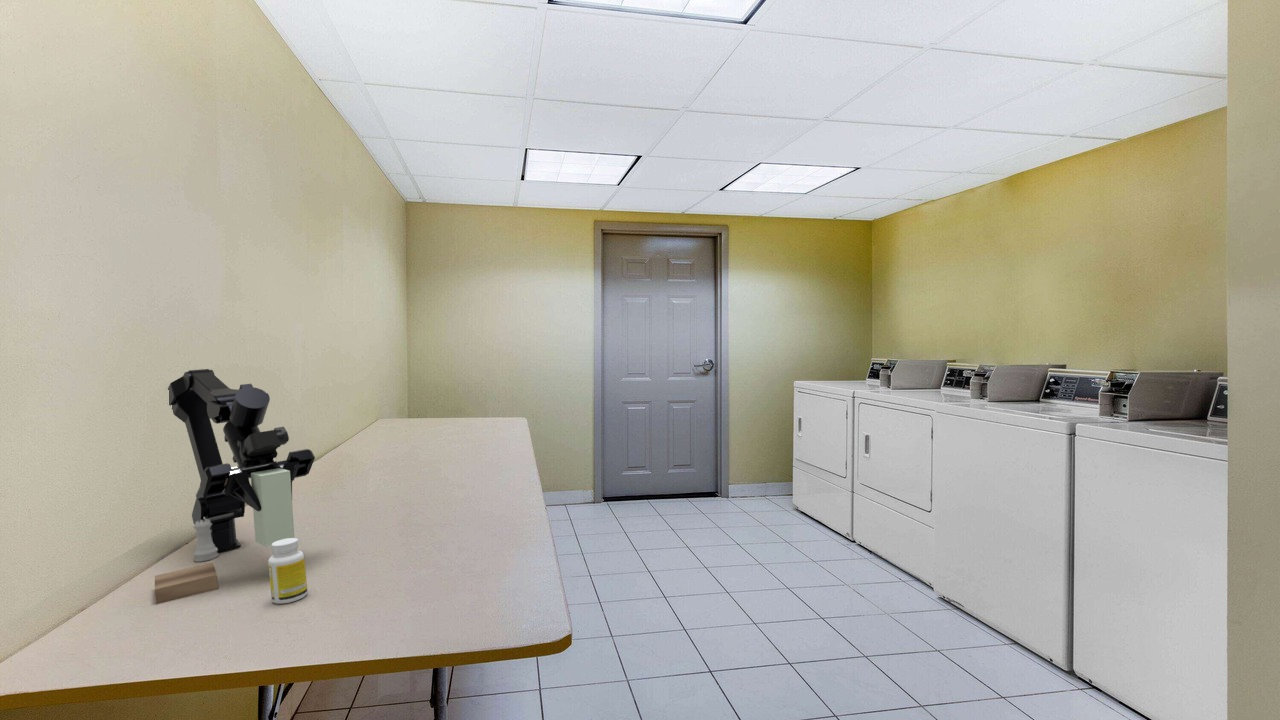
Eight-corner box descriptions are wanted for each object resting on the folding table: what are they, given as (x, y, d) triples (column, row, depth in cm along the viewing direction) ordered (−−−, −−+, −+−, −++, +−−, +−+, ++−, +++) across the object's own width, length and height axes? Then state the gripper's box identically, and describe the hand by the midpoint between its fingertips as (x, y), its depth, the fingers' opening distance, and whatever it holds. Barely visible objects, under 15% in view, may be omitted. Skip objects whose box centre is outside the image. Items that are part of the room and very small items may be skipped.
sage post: (255, 541, 121) (250, 473, 121) (283, 534, 125) (279, 468, 124) (265, 546, 118) (260, 476, 117) (294, 539, 122) (289, 470, 121)
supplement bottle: (315, 592, 112) (309, 537, 111) (288, 606, 107) (283, 547, 106) (291, 590, 114) (285, 535, 113) (264, 603, 109) (258, 546, 108)
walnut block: (156, 591, 119) (154, 575, 119) (214, 577, 124) (213, 562, 124) (156, 606, 112) (154, 589, 111) (218, 591, 117) (216, 574, 117)
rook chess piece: (205, 562, 132) (201, 524, 132) (188, 562, 133) (184, 524, 133) (224, 554, 137) (220, 517, 136) (206, 554, 138) (203, 517, 137)
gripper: (198, 423, 116) (227, 491, 109) (306, 408, 130) (337, 468, 124) (189, 462, 121) (215, 529, 115) (293, 444, 135) (321, 503, 129)
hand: (275, 506), depth 120 cm, fingers closed on sage post, 5 cm apart
